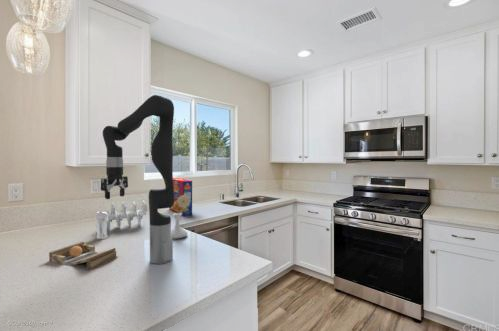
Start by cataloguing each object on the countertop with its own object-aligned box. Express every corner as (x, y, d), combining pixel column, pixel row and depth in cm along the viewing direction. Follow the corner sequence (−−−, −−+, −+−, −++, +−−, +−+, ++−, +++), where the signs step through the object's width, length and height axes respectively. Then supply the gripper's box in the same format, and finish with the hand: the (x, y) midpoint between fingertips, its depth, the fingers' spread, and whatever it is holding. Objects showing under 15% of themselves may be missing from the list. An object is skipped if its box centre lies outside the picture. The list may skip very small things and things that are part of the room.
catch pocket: (94, 251, 122) (94, 243, 122) (62, 264, 108) (62, 255, 108) (82, 249, 125) (82, 241, 125) (49, 261, 111) (49, 252, 111)
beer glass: (112, 236, 146) (112, 211, 145) (102, 240, 139) (102, 214, 138) (102, 235, 148) (102, 210, 147) (92, 238, 141) (92, 213, 140)
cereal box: (169, 209, 217) (169, 178, 216) (177, 208, 222) (177, 178, 221) (182, 216, 196) (182, 181, 195) (192, 214, 201) (192, 180, 200)
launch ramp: (116, 260, 115) (116, 248, 115) (91, 271, 104) (91, 258, 103) (95, 255, 120) (95, 244, 119) (69, 265, 108) (69, 253, 108)
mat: (119, 257, 116) (119, 255, 116) (88, 271, 102) (88, 269, 102) (82, 249, 125) (82, 248, 125) (49, 261, 111) (49, 259, 111)
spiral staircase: (105, 234, 162) (146, 227, 174) (103, 229, 147) (148, 222, 159) (103, 207, 167) (143, 202, 179) (102, 200, 153) (145, 195, 165)
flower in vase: (166, 241, 139) (166, 197, 138) (167, 234, 150) (167, 194, 149) (190, 239, 142) (190, 196, 141) (189, 233, 153) (189, 193, 152)
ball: (83, 256, 118) (76, 251, 119) (85, 247, 117) (78, 242, 118) (72, 260, 113) (65, 255, 114) (74, 251, 112) (67, 246, 114)
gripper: (120, 165, 133) (120, 194, 133) (96, 166, 119) (96, 199, 120) (131, 165, 130) (131, 196, 131) (108, 166, 117) (108, 200, 118)
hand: (115, 197), depth 125 cm, fingers open, 8 cm apart
